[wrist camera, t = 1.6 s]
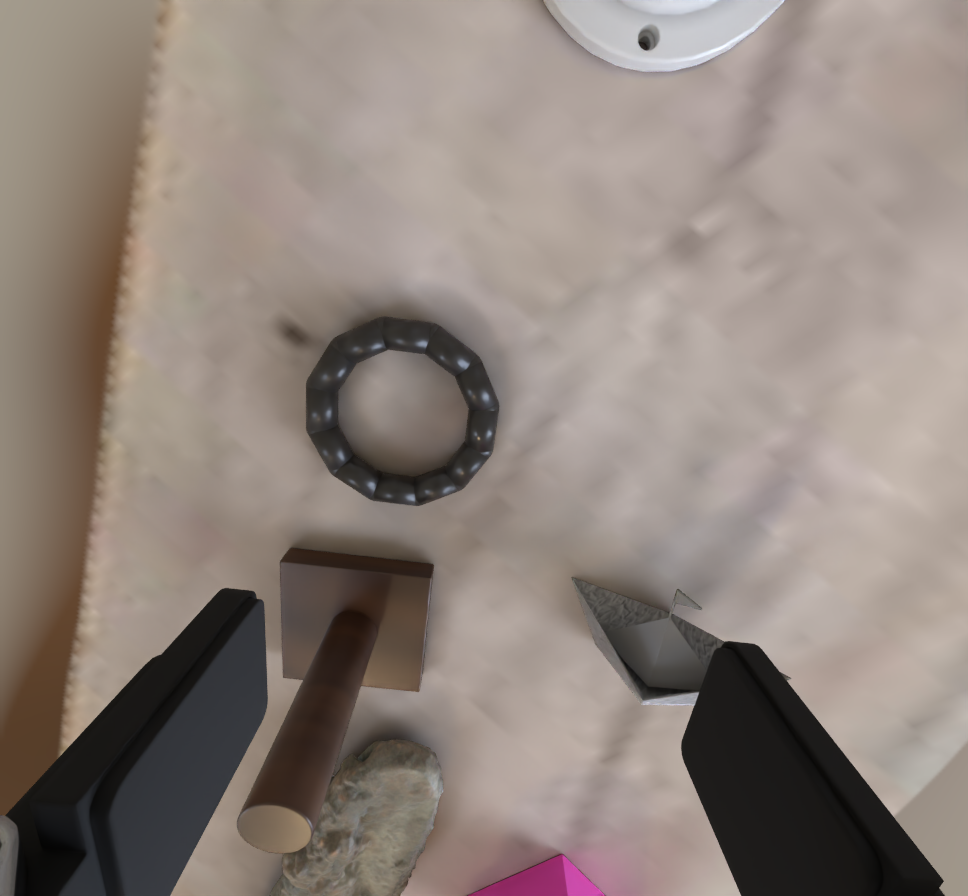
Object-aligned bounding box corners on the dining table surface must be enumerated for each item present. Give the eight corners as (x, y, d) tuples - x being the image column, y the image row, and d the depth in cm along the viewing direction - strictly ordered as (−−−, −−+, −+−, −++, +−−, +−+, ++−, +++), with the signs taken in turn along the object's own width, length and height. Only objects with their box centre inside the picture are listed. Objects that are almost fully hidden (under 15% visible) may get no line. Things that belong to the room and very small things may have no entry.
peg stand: (289, 547, 28) (144, 735, 16) (434, 563, 28) (395, 760, 16) (291, 660, 31) (170, 889, 19) (422, 674, 31) (382, 908, 19)
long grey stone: (232, 935, 44) (331, 952, 46) (202, 1020, 39) (314, 1036, 41) (345, 709, 31) (474, 746, 33) (321, 792, 26) (474, 831, 28)
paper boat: (544, 676, 30) (548, 586, 24) (582, 604, 34) (592, 514, 29) (747, 791, 24) (809, 706, 19) (762, 687, 28) (815, 594, 23)
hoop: (313, 305, 23) (300, 306, 22) (509, 331, 23) (510, 334, 22) (312, 485, 26) (302, 497, 25) (484, 506, 27) (484, 518, 25)
